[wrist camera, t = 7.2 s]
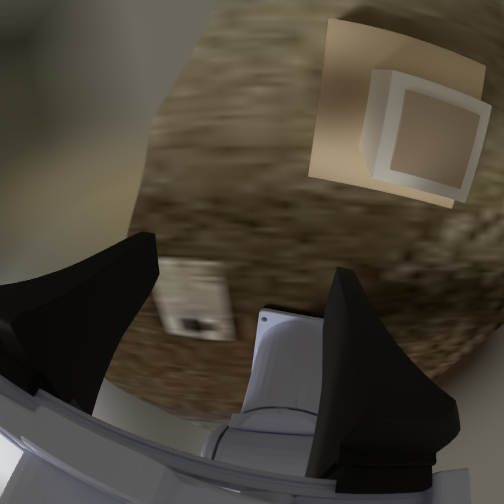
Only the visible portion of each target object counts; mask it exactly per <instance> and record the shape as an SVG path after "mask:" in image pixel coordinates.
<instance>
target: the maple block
mask: <svg viewBox="0 0 504 504" xmlns="http://www.w3.org/2000/svg"><path fill="white" fill-rule="evenodd" d="M372 69H378V70H395V71H398V72H402V73H405V74H409V75H412V76H415V77H419V78H422V79H425V80H428V81H431V82H434V83H437V84H440V85H442V86H445V87H448V88H451V89H453V90H456V91H458V92H461V93H464V94H466V95H469V96H471V97H473V98H476V99H478V100H480V101H481V96H482V90H483V84H484V78H485V71H486V66H485V65H483V64H480V63H478V62H476V61H474V60H472V59H469V58H467V57H465V56H462V55H460V54H457V53H455V52H452V51H450V50H447V49H445V48H442V47H439V46H436V45H434V44H431V43H428V42H425V41H422V40H419V39H416V38H412V37H409V36H406V35H403V34H399V33H395V32H392V31H388V30H384V29H380V28H376V27H372V26H368V25H363V24H359V23H354V22H349V21H343V20H338V19H332V18H329V20H328V28H327V37H326V46H325V55H324V64H323V72H322V80H321V88H320V96H319V104H318V111H317V118H316V126H315V133H314V140H313V146H312V153H311V160H310V167H309V174H308V176H309V177H314V178H320V179H325V180H331V181H336V182H341V183H346V184H351V185H356V186H361V187H365V188H370V189H375V190H379V191H384V192H388V193H392V194H397V195H401V196H405V197H409V198H413V199H417V200H421V201H425V202H429V203H433V204H437V205H440V206H444V207H448V208H451V209H452V206H453V203H454V200H453V199H450V198H446V197H443V196H439V195H436V194H432V193H428V192H425V191H421V190H417V189H413V188H409V187H405V186H401V185H397V184H393V183H389V182H385V181H380V180H376V179H372V178H371V175H370V173H369V170H368V168H367V165H366V163H365V160H364V158H363V155H362V153H361V150H360V148H359V146H360V141H361V136H362V130H363V125H364V119H365V113H366V108H367V102H368V95H369V89H370V82H371V76H372Z"/></svg>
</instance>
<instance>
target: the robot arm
mask: <svg viewBox="0 0 504 504" xmlns="http://www.w3.org/2000/svg"><path fill="white" fill-rule="evenodd" d="M159 274H160V273H159V265H158V257H157V248H156V238H155V234H154V233H148V232H143V231H142V232H139V233H137V234H135V235H133V236H130V237H128V238H126V239H125V240H123V241H121V242H119V243H117V244H115V245H113V246H111V247H109V248H107V249H105V250H104V251H101V252H99V253H97V254H95V255H93V256H91V257H89V258H87V259H85V260H83V261H81V262H79V263H76V264H74V265H72V266H69V267H67V268H64V269H62V270H59V271H56V272H53V273H50V274H47V275H44V276H41V277H38V278H34V279H31V280H26V281H22V282H18V283H12V284H6V285H0V434H2V435H3V436H4V437H5V438H6V439H8V440H9V441H10V442H12V443H13V444H14V445H15V446H17V447H18V448H20V449H21V450H22V451H23V452H24V453H23V455H22V457H21V459H20V460H19V462H18V464H17V466H16V468H15V470H14V472H13V473H12V475H11V477H10V480H9V481H8V483H7V485H6V487H5V489H4V491H3V493H2V496H1V498H0V504H471V494H470V477H469V469H468V468H464V469H455V470H446V471H440V472H436V473H433V474H432V466H433V465H435V464H436V453H437V452H438V451H439V450H440V449H442V448H443V447H445V446H446V445H447V444H449V443H450V442H451V441H452V440H453V439H454V438H455V437H456V436H457V435H458V433H459V431H460V421H459V413H458V408H457V404H456V401H455V400H454V399H453V398H452V397H451V396H449V395H448V394H447V393H446V392H444V391H443V390H442V389H441V388H439V387H438V386H437V385H436V384H435V383H434V382H432V381H431V380H430V379H429V378H428V377H427V376H426V375H425V374H424V373H423V372H422V371H421V370H420V369H419V368H418V367H417V366H416V365H415V364H414V363H413V362H412V361H411V360H410V358H409V357H408V356H407V355H406V354H405V353H404V352H403V350H402V349H401V348H400V347H399V346H398V344H397V343H396V342H395V340H394V339H393V338H392V336H391V335H390V334H389V332H388V331H387V329H386V328H385V327H384V325H383V323H382V322H381V320H380V319H379V317H378V315H377V314H376V312H375V310H374V309H373V307H372V305H371V303H370V301H369V300H368V298H367V296H366V294H365V292H364V290H363V288H362V286H361V284H360V282H359V280H358V278H357V276H356V274H355V273H354V271H353V270H352V269H346V268H341V267H337V269H336V272H335V276H334V279H333V283H332V286H331V289H330V293H329V296H328V299H327V303H326V306H325V312H324V319H322V318H316V317H311V316H305V315H300V314H294V313H289V312H283V311H278V310H273V309H268V308H263V309H261V310H260V313H259V320H258V327H257V335H256V342H255V350H254V357H253V364H252V373H251V377H250V381H249V385H248V388H247V392H246V396H245V399H244V403H243V407H242V410H241V414H232V417H231V421H230V424H229V425H221V426H219V427H218V428H216V430H215V431H214V432H212V433H211V434H210V435H209V437H208V438H207V440H206V442H205V444H204V446H203V449H202V452H201V455H200V456H197V455H194V454H190V453H187V452H183V451H180V450H177V449H174V448H171V447H168V446H165V445H162V444H159V443H156V442H153V441H151V440H148V439H145V438H143V437H140V436H137V435H135V434H132V433H130V432H127V431H125V430H122V429H120V428H118V427H115V426H113V425H110V424H108V423H106V422H104V421H102V420H99V419H97V418H95V417H93V416H92V413H93V409H94V406H95V403H96V399H97V396H98V393H99V390H100V387H101V384H102V381H103V379H104V376H105V373H106V371H107V369H108V366H109V364H110V361H111V359H112V357H113V355H114V353H115V350H116V348H117V346H118V344H119V342H120V340H121V338H122V336H123V335H124V333H125V331H126V330H127V328H128V327H129V325H130V324H131V322H132V321H133V319H134V317H135V316H136V314H137V313H138V311H139V310H140V308H141V307H142V305H143V304H144V302H145V301H146V299H147V298H148V296H149V295H150V293H151V291H152V289H153V287H154V285H155V283H156V281H157V278H158V276H159ZM263 317H265V318H263Z"/></svg>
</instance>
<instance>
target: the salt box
mask: <svg viewBox="0 0 504 504" xmlns="http://www.w3.org/2000/svg"><path fill="white" fill-rule="evenodd" d="M491 108H492V105H489V104H487V103H485V102H483V101H480V100H478V99H476V98H473V97H471V96H469V95H466V94H464V93H461V92H458V91H456V90H453V89H451V88H448V87H445V86H442V85H440V84H437V83H434V82H431V81H428V80H425V79H422V78H419V77H415V76H412V75H409V74H405V73H402V72H398V71H395V70H378V69H372V76H371V82H370V89H369V95H368V102H367V108H366V113H365V119H364V125H363V130H362V136H361V141H360V146H359V148H360V150H361V153H362V155H363V158H364V160H365V163H366V165H367V168H368V170H369V173H370V175H371V178H372V179H376V180H380V181H385V182H389V183H393V184H397V185H401V186H405V187H409V188H413V189H417V190H421V191H425V192H428V193H432V194H436V195H439V196H443V197H446V198H450V199H453V200H456V201H460V202H463V203H465V202H466V199H467V196H468V193H469V190H470V187H471V184H472V181H473V178H474V175H475V171H476V168H477V165H478V161H479V158H480V154H481V150H482V147H483V143H484V139H485V135H486V131H487V127H488V122H489V118H490V113H491Z"/></svg>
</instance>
